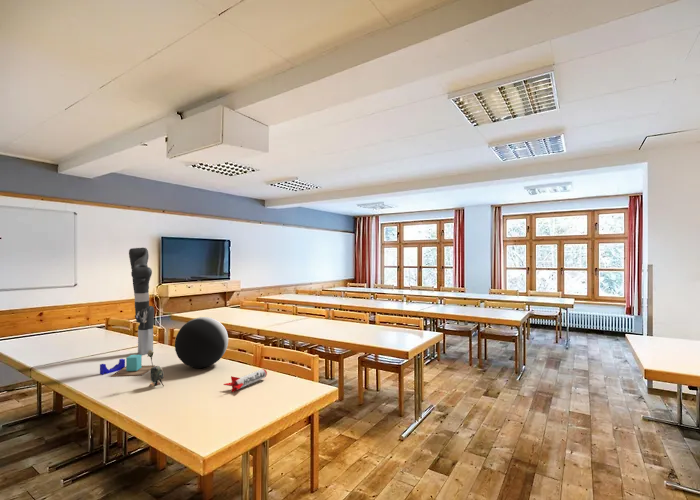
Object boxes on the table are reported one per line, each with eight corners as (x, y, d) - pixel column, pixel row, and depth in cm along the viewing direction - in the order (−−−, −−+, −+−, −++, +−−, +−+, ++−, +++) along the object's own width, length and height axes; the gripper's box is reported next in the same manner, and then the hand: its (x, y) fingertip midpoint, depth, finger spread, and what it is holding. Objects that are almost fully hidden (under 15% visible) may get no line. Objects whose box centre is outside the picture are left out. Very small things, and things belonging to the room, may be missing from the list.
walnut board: (126, 368, 207) (126, 366, 207) (154, 367, 209) (154, 365, 209) (111, 377, 191) (111, 375, 191) (141, 376, 193) (141, 374, 193)
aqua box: (131, 367, 203) (131, 354, 203) (141, 367, 203) (141, 354, 203) (126, 371, 197) (126, 357, 197) (136, 370, 198) (136, 357, 198)
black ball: (236, 359, 224) (236, 313, 224) (213, 376, 194) (213, 323, 194) (192, 358, 227) (192, 312, 227) (163, 374, 197) (163, 321, 197)
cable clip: (120, 368, 207) (120, 358, 207) (124, 369, 205) (124, 359, 205) (98, 374, 197) (98, 364, 197) (102, 375, 195) (102, 365, 195)
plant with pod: (152, 393, 170) (152, 353, 170) (143, 387, 177) (143, 349, 177) (169, 388, 176) (169, 349, 176) (159, 383, 184) (160, 345, 184)
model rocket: (272, 383, 185) (273, 364, 185) (238, 399, 165) (238, 378, 165) (258, 379, 190) (258, 361, 190) (223, 394, 170) (223, 374, 170)
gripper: (140, 298, 215) (141, 325, 215) (129, 302, 202) (129, 331, 202) (153, 298, 216) (153, 325, 216) (143, 302, 203) (143, 331, 203)
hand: (142, 328), depth 209 cm, fingers closed
